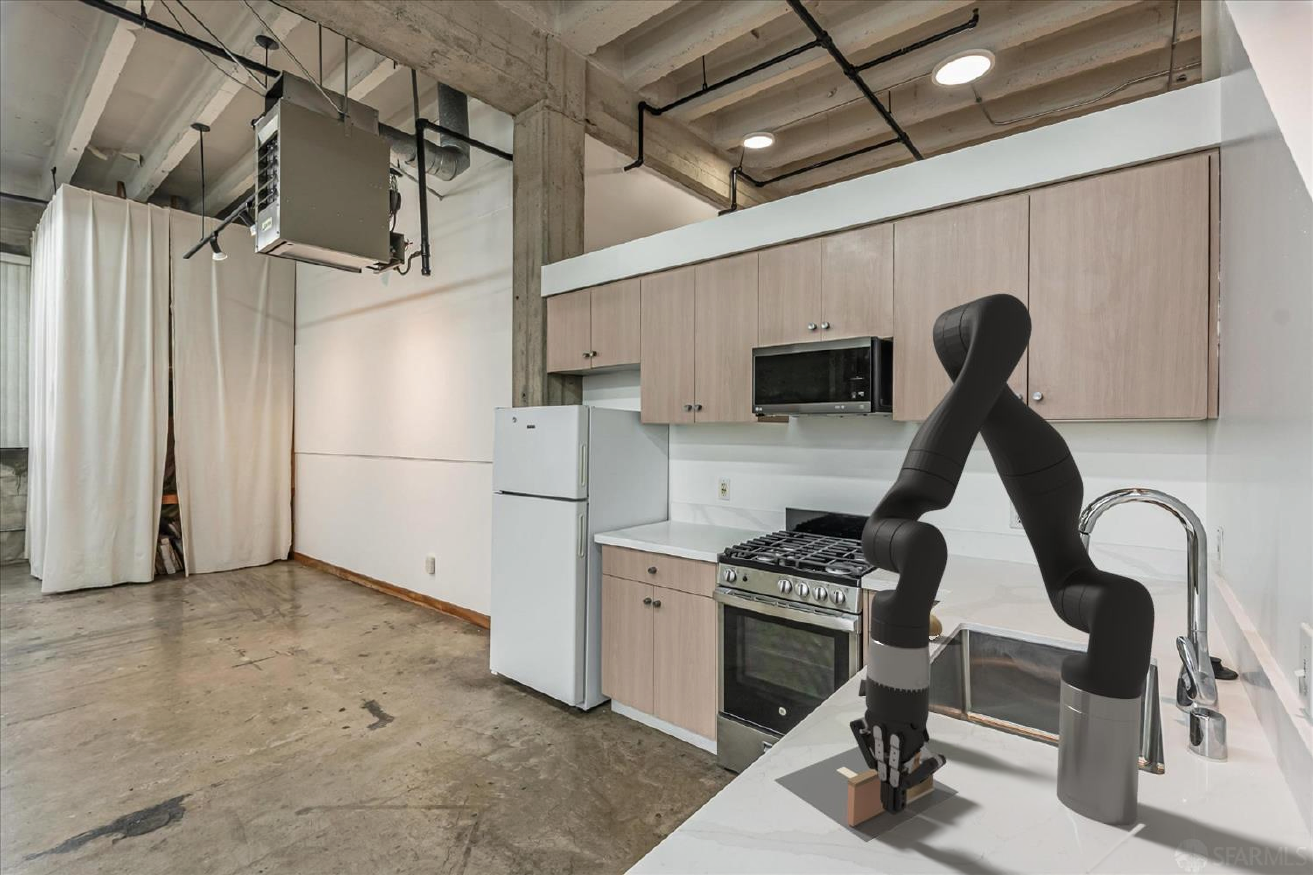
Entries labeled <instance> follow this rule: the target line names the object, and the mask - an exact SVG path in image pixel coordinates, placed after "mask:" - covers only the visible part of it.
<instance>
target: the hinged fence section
mask: <svg viewBox="0 0 1313 875" xmlns="http://www.w3.org/2000/svg"><path fill="white" fill-rule="evenodd" d="M880 788H881V779H880V778H879V775H878V772H877V771H876V770H875V769H870V770H868V771H866V772H863V773H861V774H859V775H856V776H854V777H852V778H850V779H848V803H847V823H849V824H850V825H852V826H855V825H857V824H859V823H861V822H863V821H865V820H867V819H869V818H871V817H873V816H875V815H877V814H879V813H881V812H883V811H885V810H884V809H883V803H881V799H880V791H881V790H880Z"/></svg>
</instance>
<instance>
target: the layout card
mask: <svg viewBox="0 0 1313 875" xmlns="http://www.w3.org/2000/svg"><path fill="white" fill-rule="evenodd" d="M870 750H871V748H870ZM871 752H872V750H871ZM872 754H873V752H872ZM873 756H874V754H873ZM874 757H875V756H874ZM868 770H870V768H869V767H868V765H867V763H866V761H865V759H864V756H863V754H862V752H861V750H860V748H859V745H858V746H856V747H852V748H851V749H848V750H846V751H843V752H841V753H838V754H836V755H835V754H834V755H832V756H830V757H828V758H825V759H823V760H820V761H818V762H816V763H813V764H810V765H807V766H806V767H803V768H800V769H798V770H796V771H793V772H791V773H788V774H786V775H784V776H781V777H777V778H776V779H773V781H775V782H776V783H777V784H779V785H780V786H782V787H783V788H784V789H786V790H788V791H789V792H791V793H793V794H794V795H795V796H796V797H798V798H800V799H801V800H802V801H804V802H805V803H807V804H808V805H810V806H812V807H813V808H815V809H816V810H817V811H819V812H821V813H822V814H824V815H825V816H826V817H828V818H829V819H831V820H832V821H834V822H835V823H837V824H839V825H840V826H841V827H842V828H844V829H845V830H847V831H849V832H850V833H852V834H853V835H855V836H856V837H858V838H859V839H860V840H862V841H864V842H865V843H867V842H869V841H871V840H872V839H875V838H876V837H878V836H880V835H882V834H883V833H885V832H887V831H889V830H891V829H893V828H894V827H896V826H898V825H900V824H902V823H905V822H906V821H908V820H909V819H911V818H913V817H914V816H917V815H918V814H920V813H922V812H924V811H926V810H928V809H929V808H931V807H934V806H935V805H937V804H939V803H940V802H941V803H942V802H943V801H944V800H946V799H949V797H952V796H954V795H956V794H957V793H959V791H958V790H956V789H954V788H952V787H950V786H948V785H946V784H945V783H943V782H940V781H938V780H936V779H935V778H933V788H931V789H929V790H927V791H925V792H923V793H921V794H919V795H917V796H915V797H913V798H911V799H910V800H908V801H906V807H905V809H904V810H902V811H901V812H899V813H898V814H896V815H893V814H891V813H889V812H888V811H886V810H885V811H883V812H881V813H879V814H877V815H875V816H873V817H871V818H869V819H867V820H865V821H863V822H861V823H859V824H857V825H855V826H852V825H850V824H849V823H847V803H848V779H850V778H852V777H854V776H856V775H859V774H861V773H863V772H866V771H868Z"/></svg>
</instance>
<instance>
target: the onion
mask: <svg viewBox="0 0 1313 875" xmlns="http://www.w3.org/2000/svg"><path fill="white" fill-rule="evenodd" d="M942 633H943V624H942V622H941V620H939V619H938V617H936V615H934V614H932V613H930V635H929V636H937V635H940V636H941V635H942Z"/></svg>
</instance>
